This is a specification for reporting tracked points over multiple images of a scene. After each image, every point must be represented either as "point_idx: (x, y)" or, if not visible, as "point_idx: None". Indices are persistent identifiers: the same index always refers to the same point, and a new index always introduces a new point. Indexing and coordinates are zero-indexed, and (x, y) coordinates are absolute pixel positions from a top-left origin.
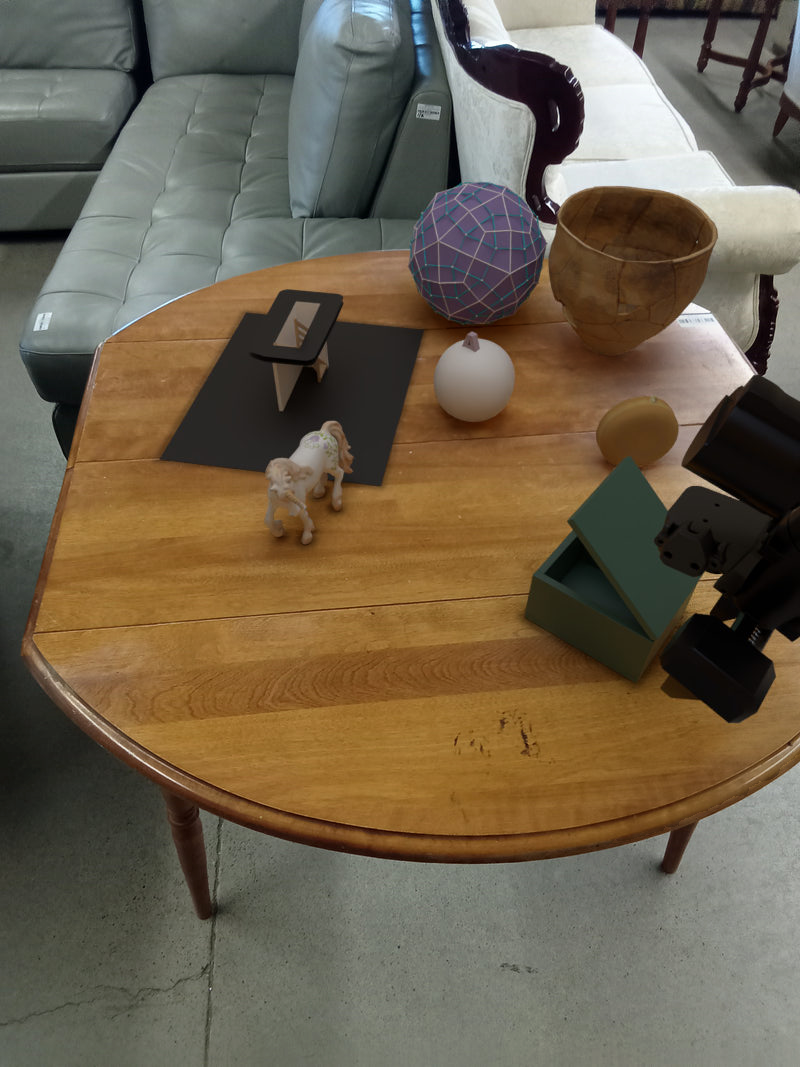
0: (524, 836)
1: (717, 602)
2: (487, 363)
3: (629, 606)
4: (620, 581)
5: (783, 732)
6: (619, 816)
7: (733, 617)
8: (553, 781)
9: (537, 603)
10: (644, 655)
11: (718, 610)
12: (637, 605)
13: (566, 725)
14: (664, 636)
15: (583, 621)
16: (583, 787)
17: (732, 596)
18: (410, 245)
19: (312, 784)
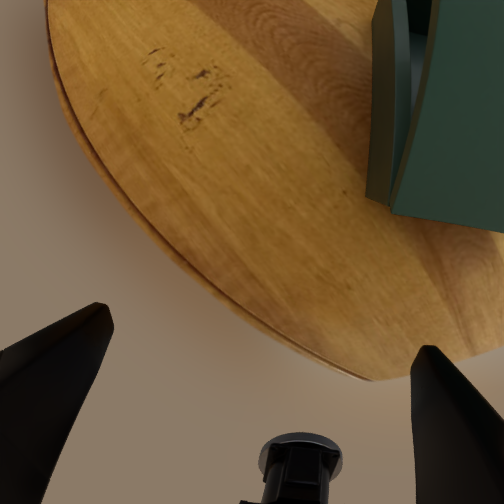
0: (105, 171)
1: (442, 382)
2: None
3: (411, 127)
4: (439, 74)
5: (382, 374)
6: (175, 247)
7: (412, 416)
8: (168, 164)
9: (379, 13)
10: (378, 196)
11: (427, 378)
12: (421, 143)
13: (245, 139)
14: None
15: (384, 78)
16: (181, 197)
17: (450, 439)
18: None
19: (68, 9)
